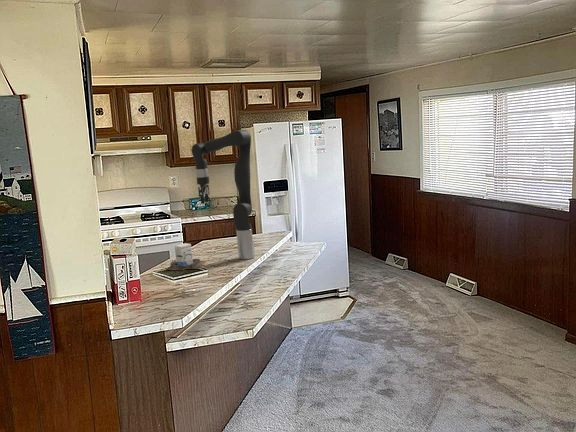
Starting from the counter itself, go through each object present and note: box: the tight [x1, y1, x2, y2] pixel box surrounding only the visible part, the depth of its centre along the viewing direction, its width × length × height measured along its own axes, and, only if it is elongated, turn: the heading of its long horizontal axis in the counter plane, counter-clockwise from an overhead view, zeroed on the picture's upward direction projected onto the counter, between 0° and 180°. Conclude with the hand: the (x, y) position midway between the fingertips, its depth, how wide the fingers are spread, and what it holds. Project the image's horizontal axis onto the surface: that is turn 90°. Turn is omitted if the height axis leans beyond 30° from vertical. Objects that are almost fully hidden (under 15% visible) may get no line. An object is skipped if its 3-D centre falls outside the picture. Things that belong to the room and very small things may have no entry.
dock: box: [165, 258, 207, 270], centre depth 304 cm, size 18×18×4 cm
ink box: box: [174, 243, 194, 265], centre depth 303 cm, size 9×5×12 cm, turn 144°
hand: (205, 202), depth 325 cm, fingers open, 8 cm apart
